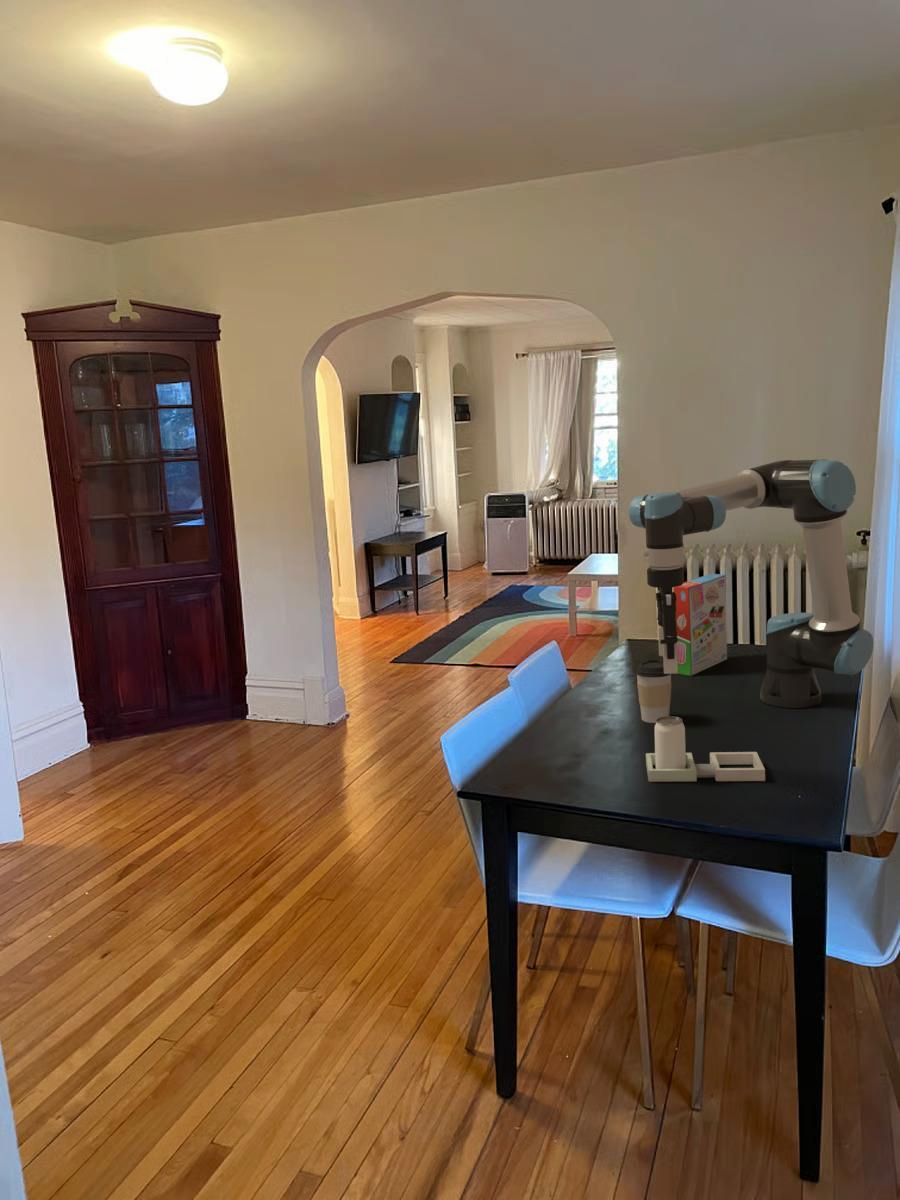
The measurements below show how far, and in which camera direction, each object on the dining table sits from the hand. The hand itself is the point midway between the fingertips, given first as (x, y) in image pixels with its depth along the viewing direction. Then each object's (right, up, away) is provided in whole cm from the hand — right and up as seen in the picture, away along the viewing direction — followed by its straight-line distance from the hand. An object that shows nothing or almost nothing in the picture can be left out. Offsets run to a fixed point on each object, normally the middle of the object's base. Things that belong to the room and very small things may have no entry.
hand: (668, 664), depth 188 cm
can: (+2, -24, +5) cm, 25 cm away
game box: (+30, -7, +80) cm, 86 cm away
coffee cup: (+6, -17, +39) cm, 43 cm away
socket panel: (+9, -24, +3) cm, 26 cm away
